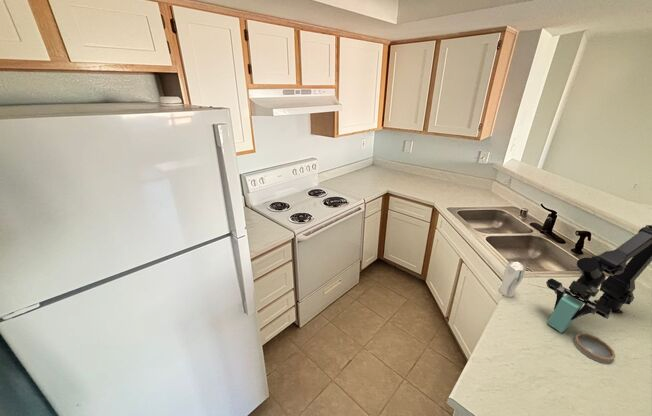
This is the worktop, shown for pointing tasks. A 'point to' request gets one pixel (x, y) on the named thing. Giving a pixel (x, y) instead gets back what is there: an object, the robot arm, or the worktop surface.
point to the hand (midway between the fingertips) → (562, 314)
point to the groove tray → (594, 348)
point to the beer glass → (511, 278)
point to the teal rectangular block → (564, 313)
